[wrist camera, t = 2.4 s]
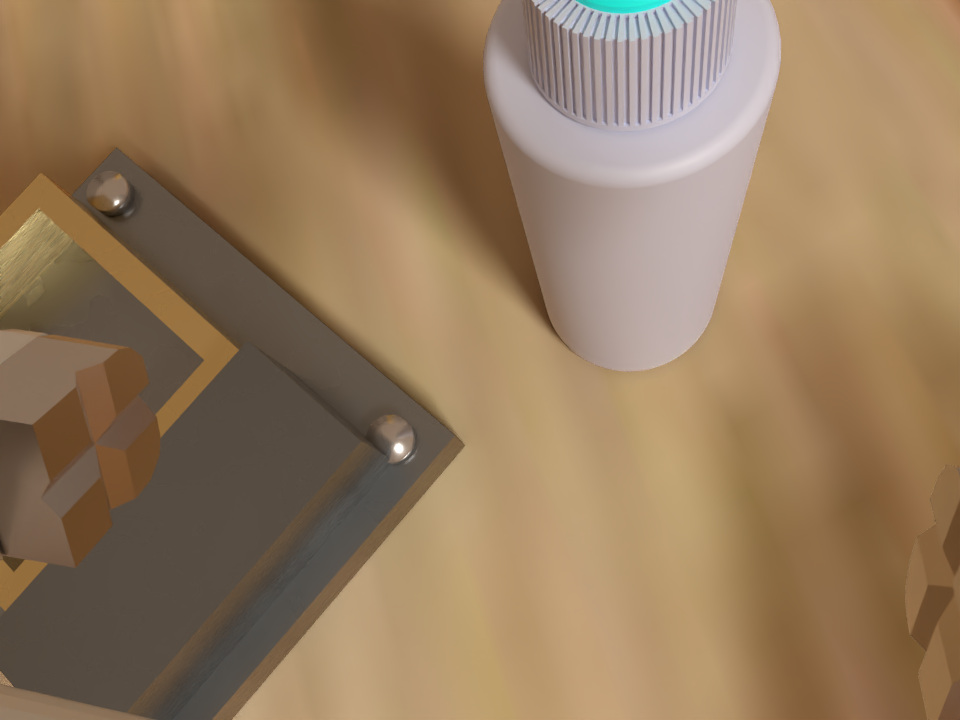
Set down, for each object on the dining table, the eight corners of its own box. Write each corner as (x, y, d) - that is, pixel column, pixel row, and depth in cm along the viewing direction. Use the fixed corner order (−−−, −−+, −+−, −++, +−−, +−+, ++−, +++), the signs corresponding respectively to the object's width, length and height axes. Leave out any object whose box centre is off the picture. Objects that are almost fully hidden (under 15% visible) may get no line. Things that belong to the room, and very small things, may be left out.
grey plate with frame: (158, 804, 31) (53, 848, 26) (-135, 467, 36) (-278, 441, 31) (465, 445, 33) (430, 411, 27) (142, 170, 38) (55, 92, 32)
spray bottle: (512, 311, 34) (322, -172, 13) (612, 187, 35) (585, -464, 14) (646, 408, 32) (677, 34, 11) (749, 276, 33) (959, -311, 12)
